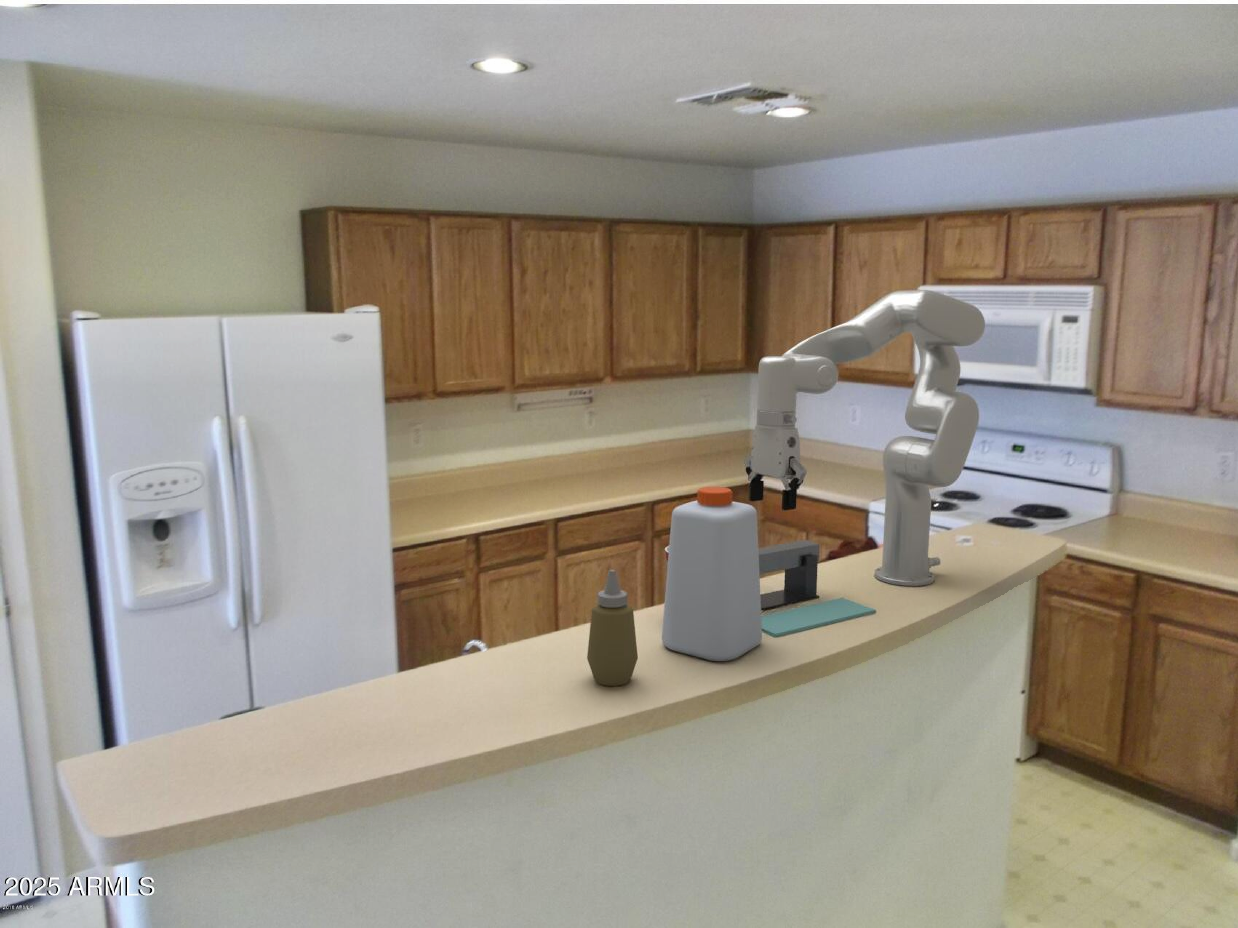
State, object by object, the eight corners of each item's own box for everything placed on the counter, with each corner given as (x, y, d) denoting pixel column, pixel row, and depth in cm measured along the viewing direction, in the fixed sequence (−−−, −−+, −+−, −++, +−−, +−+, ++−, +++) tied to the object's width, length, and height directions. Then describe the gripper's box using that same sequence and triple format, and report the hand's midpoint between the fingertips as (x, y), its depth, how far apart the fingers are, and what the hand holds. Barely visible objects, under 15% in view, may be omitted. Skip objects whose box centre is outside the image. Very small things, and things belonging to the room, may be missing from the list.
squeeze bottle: (579, 674, 146) (579, 567, 143) (625, 666, 149) (625, 561, 146) (598, 693, 138) (598, 580, 135) (646, 685, 142) (646, 574, 139)
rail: (805, 558, 189) (805, 539, 188) (818, 562, 186) (819, 544, 185) (722, 573, 178) (722, 554, 177) (735, 578, 174) (735, 558, 174)
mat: (842, 600, 184) (842, 597, 184) (875, 612, 176) (875, 609, 176) (742, 622, 170) (743, 619, 170) (774, 637, 163) (775, 634, 163)
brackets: (795, 589, 191) (797, 548, 189) (819, 598, 185) (820, 555, 184) (721, 605, 181) (722, 561, 179) (743, 614, 175) (744, 570, 173)
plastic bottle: (727, 668, 148) (731, 502, 144) (652, 647, 157) (653, 490, 153) (770, 641, 160) (775, 487, 156) (698, 624, 169) (700, 478, 165)
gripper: (821, 423, 171) (816, 511, 174) (761, 414, 186) (758, 495, 189) (791, 425, 167) (787, 515, 170) (733, 416, 182) (730, 499, 185)
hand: (772, 504), depth 179 cm, fingers open, 9 cm apart
